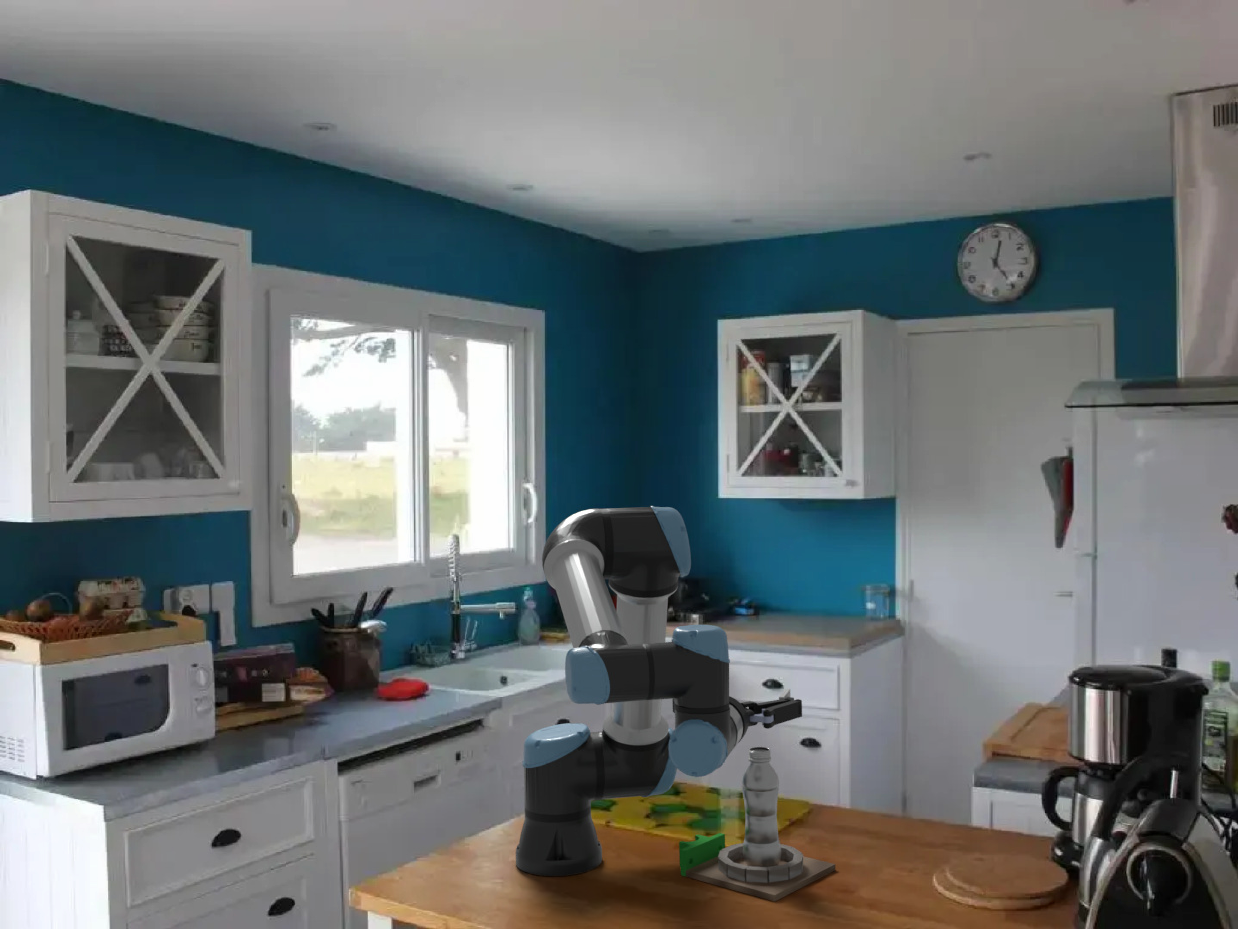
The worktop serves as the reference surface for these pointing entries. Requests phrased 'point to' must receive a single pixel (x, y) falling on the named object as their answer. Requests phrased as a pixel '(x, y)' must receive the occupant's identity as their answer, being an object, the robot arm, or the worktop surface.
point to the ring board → (761, 888)
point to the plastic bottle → (760, 810)
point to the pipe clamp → (700, 850)
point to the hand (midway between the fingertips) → (745, 695)
